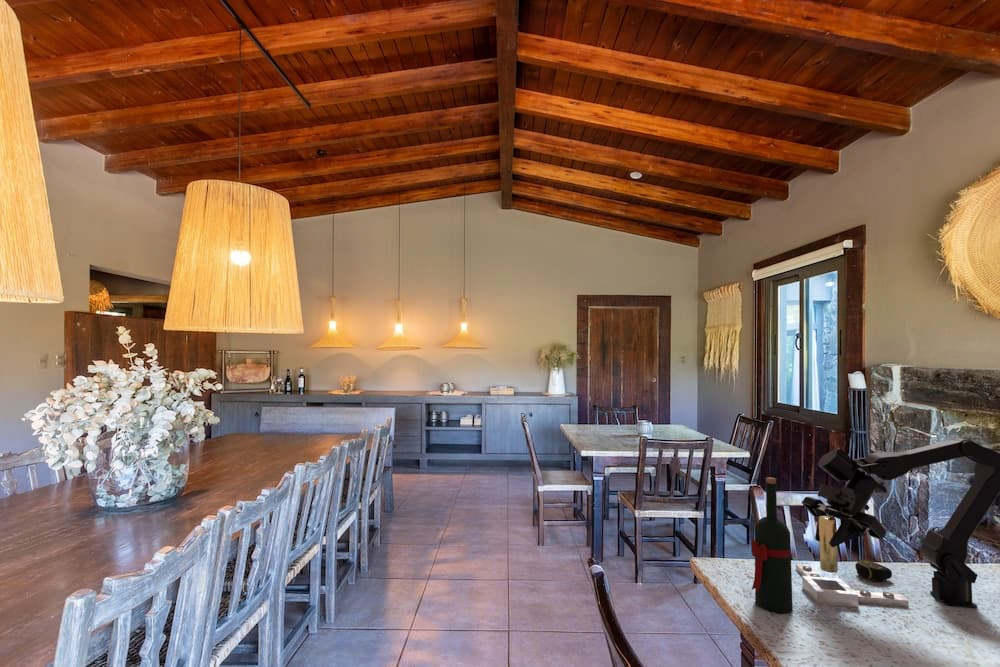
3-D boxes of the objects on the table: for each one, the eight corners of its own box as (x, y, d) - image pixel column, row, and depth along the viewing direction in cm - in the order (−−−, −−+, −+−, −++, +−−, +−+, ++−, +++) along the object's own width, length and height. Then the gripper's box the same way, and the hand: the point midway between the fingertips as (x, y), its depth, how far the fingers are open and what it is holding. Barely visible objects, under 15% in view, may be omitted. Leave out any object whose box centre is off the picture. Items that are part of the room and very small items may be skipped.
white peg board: (867, 574, 136) (867, 563, 136) (916, 612, 116) (915, 599, 116) (785, 568, 140) (784, 557, 140) (817, 604, 120) (817, 591, 120)
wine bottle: (740, 603, 120) (738, 476, 121) (770, 595, 124) (767, 473, 125) (769, 618, 113) (767, 484, 114) (800, 610, 117) (797, 480, 118)
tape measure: (894, 582, 132) (893, 567, 132) (875, 585, 130) (874, 570, 130) (868, 571, 139) (867, 557, 139) (849, 574, 137) (849, 560, 137)
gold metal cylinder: (833, 567, 125) (831, 516, 125) (840, 573, 121) (838, 521, 122) (817, 566, 125) (816, 515, 126) (824, 572, 122) (822, 520, 123)
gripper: (805, 465, 135) (774, 510, 131) (875, 481, 117) (840, 534, 113) (829, 493, 136) (798, 538, 133) (901, 513, 119) (868, 566, 115)
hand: (823, 543), depth 123 cm, fingers closed on gold metal cylinder, 4 cm apart
